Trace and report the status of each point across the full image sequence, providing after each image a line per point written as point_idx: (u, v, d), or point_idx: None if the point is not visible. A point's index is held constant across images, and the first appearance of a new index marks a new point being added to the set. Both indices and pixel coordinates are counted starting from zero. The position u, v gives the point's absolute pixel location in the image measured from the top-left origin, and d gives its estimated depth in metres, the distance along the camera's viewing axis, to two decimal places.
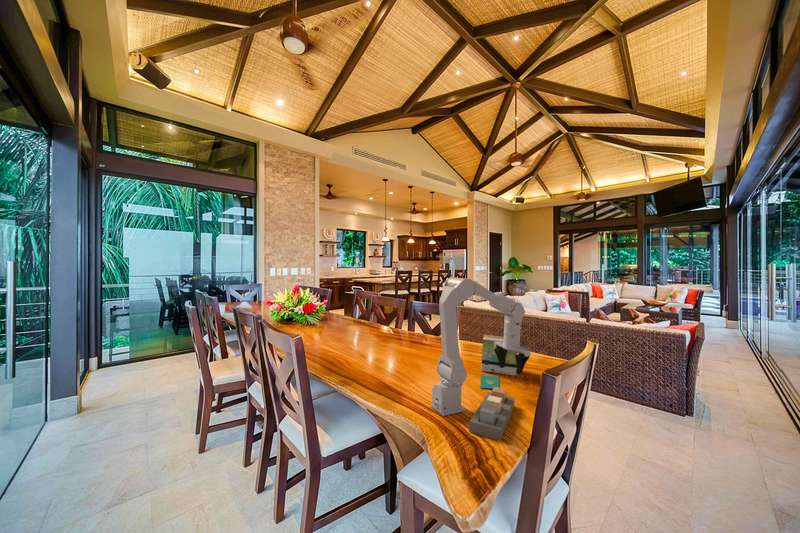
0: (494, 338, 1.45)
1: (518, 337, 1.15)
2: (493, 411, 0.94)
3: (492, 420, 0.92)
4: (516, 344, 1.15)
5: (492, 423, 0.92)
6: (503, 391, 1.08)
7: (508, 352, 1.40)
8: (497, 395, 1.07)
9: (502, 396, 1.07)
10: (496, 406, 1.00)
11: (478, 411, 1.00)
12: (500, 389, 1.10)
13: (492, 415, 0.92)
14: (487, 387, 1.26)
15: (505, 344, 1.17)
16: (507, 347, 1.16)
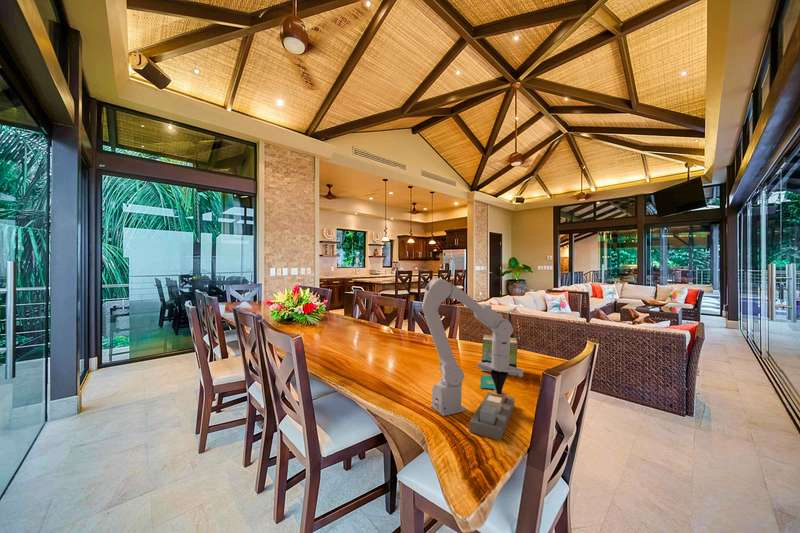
0: None
1: None
2: (493, 411, 0.94)
3: (492, 420, 0.92)
4: (508, 364, 1.07)
5: (492, 423, 0.92)
6: (503, 394, 1.08)
7: None
8: None
9: (502, 399, 1.07)
10: (496, 406, 1.00)
11: (478, 411, 1.00)
12: None
13: (492, 415, 0.92)
14: (487, 387, 1.26)
15: (496, 366, 1.07)
16: (500, 369, 1.06)
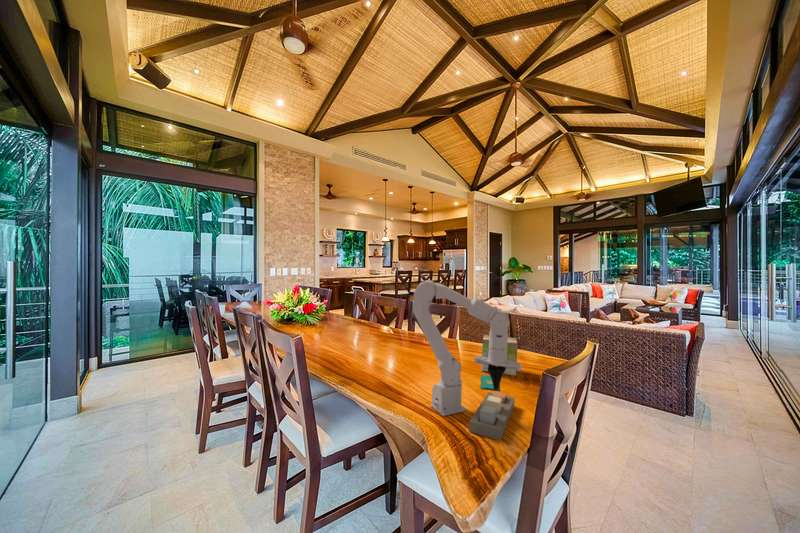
0: None
1: (506, 350, 1.03)
2: (493, 411, 0.94)
3: (492, 420, 0.92)
4: (505, 358, 1.02)
5: (492, 423, 0.92)
6: (503, 395, 1.08)
7: (508, 352, 1.40)
8: None
9: (502, 400, 1.07)
10: (496, 406, 1.00)
11: (478, 411, 1.00)
12: (500, 393, 1.10)
13: (492, 415, 0.92)
14: (487, 387, 1.26)
15: (494, 360, 1.02)
16: (497, 363, 1.02)
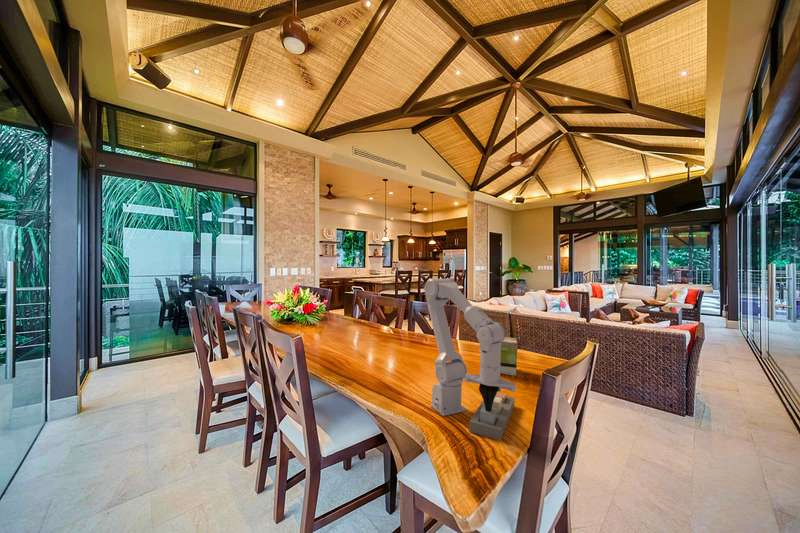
0: None
1: (499, 368, 0.93)
2: (493, 412, 0.94)
3: (492, 421, 0.92)
4: (498, 377, 0.93)
5: (492, 424, 0.92)
6: (503, 395, 1.08)
7: (508, 352, 1.40)
8: None
9: (502, 400, 1.07)
10: (496, 406, 1.00)
11: (478, 411, 1.00)
12: (500, 393, 1.10)
13: (492, 416, 0.92)
14: None
15: (485, 379, 0.92)
16: (489, 383, 0.92)
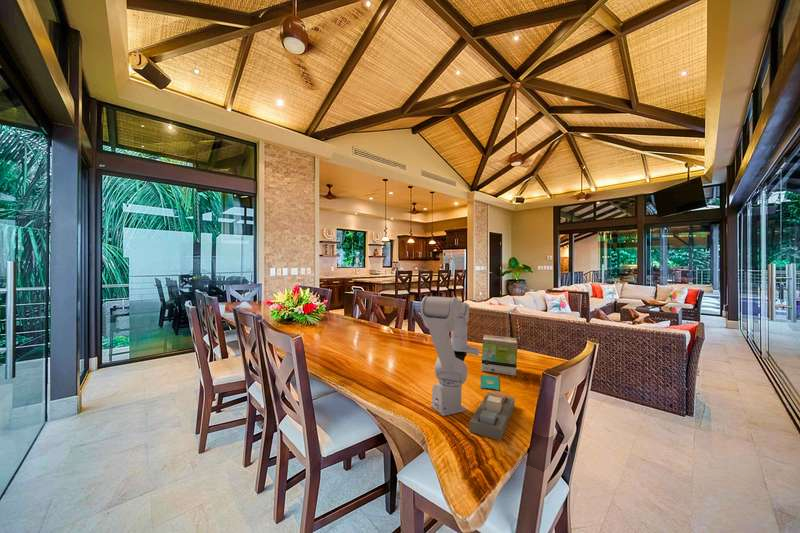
0: (494, 338, 1.45)
1: (466, 337, 1.15)
2: (493, 416, 0.94)
3: None
4: (465, 344, 1.15)
5: None
6: (503, 395, 1.08)
7: (508, 352, 1.40)
8: None
9: (502, 400, 1.07)
10: (496, 406, 1.00)
11: (478, 411, 1.00)
12: (500, 393, 1.10)
13: (492, 420, 0.92)
14: (487, 387, 1.26)
15: (455, 346, 1.15)
16: (457, 349, 1.14)
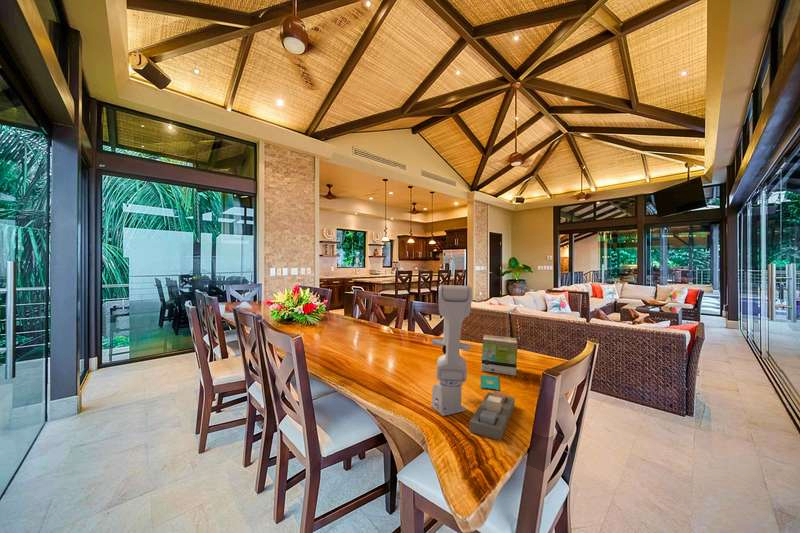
0: (494, 338, 1.45)
1: None
2: (493, 416, 0.94)
3: None
4: None
5: None
6: (503, 395, 1.08)
7: (508, 352, 1.40)
8: None
9: (502, 400, 1.07)
10: (496, 406, 1.00)
11: (478, 411, 1.00)
12: (500, 393, 1.10)
13: (492, 420, 0.92)
14: (487, 387, 1.26)
15: None
16: None
